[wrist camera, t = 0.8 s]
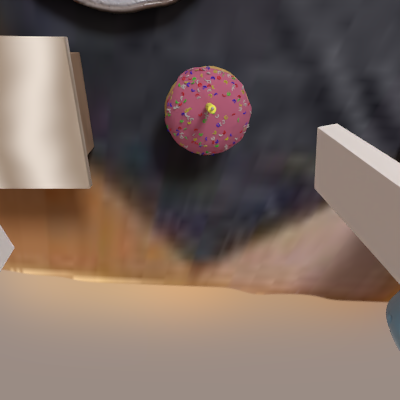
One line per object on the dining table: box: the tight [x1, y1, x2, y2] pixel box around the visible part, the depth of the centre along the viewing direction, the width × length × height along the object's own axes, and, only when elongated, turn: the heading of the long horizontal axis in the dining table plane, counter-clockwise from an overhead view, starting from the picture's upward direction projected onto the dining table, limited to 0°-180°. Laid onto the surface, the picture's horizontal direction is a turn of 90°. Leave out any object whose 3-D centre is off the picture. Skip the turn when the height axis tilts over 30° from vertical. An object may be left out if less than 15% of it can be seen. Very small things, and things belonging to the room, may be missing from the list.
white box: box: [0, 36, 94, 189], centre depth 30 cm, size 13×13×8 cm
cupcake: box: [165, 66, 252, 155], centre depth 29 cm, size 9×8×12 cm
